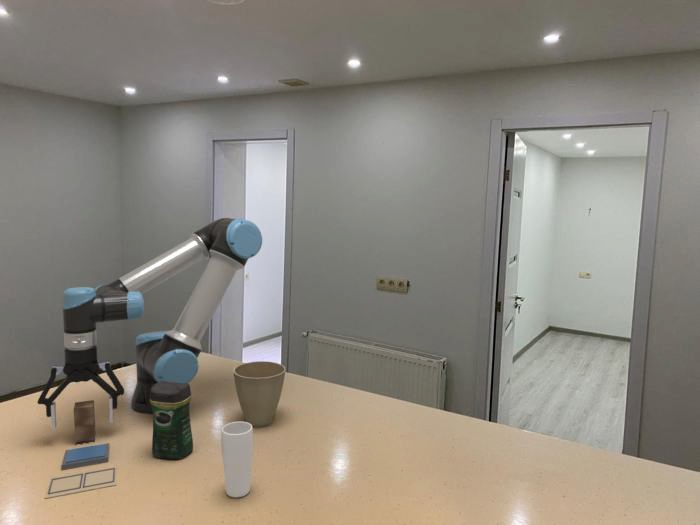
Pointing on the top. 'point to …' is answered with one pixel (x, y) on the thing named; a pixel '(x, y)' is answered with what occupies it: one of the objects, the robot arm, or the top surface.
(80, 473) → the sheet
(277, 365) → the plant pot
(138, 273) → the robot arm
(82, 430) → the tall wooden block
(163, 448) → the coffee jar
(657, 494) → the top surface
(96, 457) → the ink pad
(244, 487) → the drinking glass
